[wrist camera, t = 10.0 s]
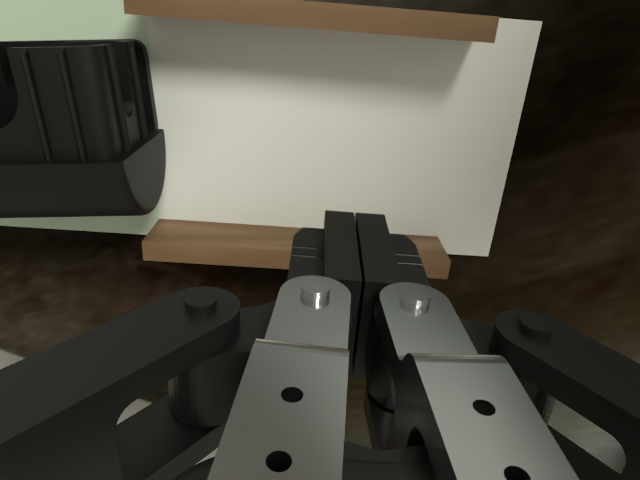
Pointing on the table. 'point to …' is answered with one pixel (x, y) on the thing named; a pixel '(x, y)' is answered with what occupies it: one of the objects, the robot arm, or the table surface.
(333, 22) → the channel walls
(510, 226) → the table surface
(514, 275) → the table surface
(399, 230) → the plate
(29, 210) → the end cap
